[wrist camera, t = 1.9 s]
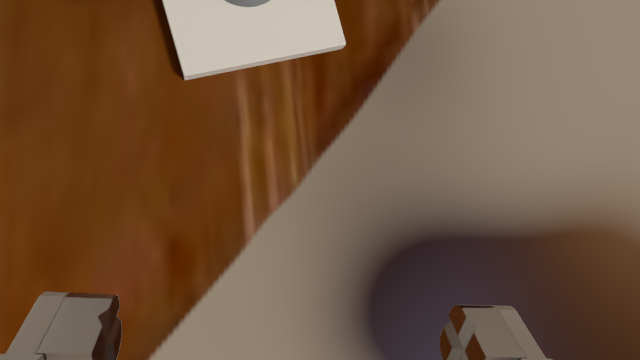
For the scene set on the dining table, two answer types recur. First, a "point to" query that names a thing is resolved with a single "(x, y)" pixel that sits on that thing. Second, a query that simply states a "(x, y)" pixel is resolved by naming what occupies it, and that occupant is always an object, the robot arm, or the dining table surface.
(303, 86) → the dining table surface
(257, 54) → the charging pad
